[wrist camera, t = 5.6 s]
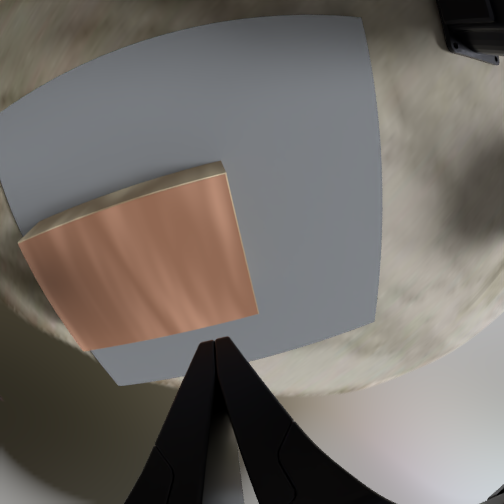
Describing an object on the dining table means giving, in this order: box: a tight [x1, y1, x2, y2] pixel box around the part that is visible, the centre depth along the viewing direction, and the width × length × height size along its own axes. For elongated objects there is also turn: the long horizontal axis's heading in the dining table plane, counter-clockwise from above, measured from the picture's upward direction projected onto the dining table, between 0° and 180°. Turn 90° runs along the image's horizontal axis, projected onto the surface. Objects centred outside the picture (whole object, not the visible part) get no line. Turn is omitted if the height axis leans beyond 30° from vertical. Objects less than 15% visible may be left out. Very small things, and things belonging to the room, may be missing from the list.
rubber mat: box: [0, 15, 382, 386], centre depth 14 cm, size 20×20×1 cm
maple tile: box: [18, 161, 259, 351], centre depth 13 cm, size 2×7×10 cm
